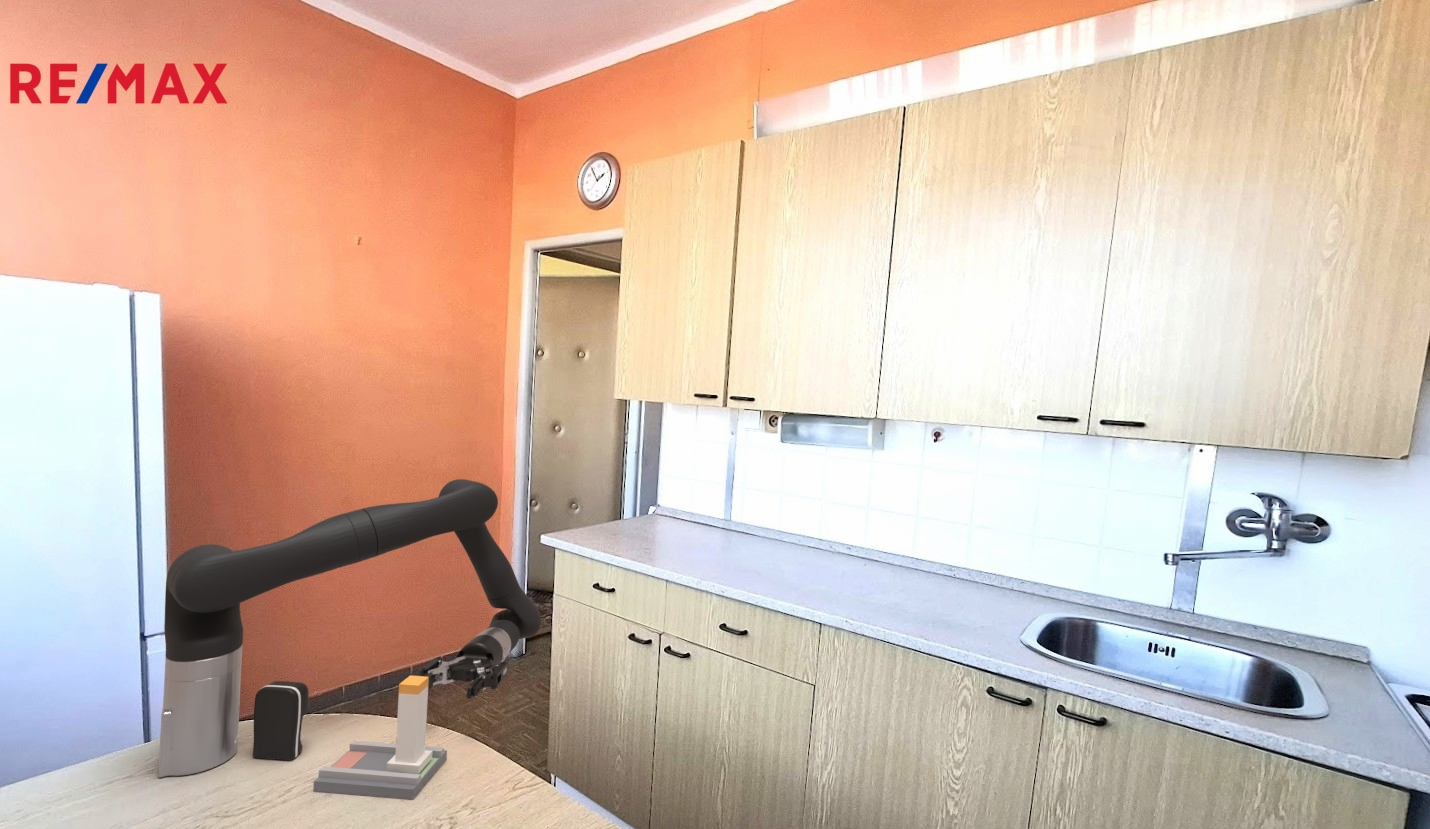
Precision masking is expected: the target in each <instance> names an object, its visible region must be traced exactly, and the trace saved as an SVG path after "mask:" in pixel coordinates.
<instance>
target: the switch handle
mask: <svg viewBox="0 0 1430 829" xmlns="http://www.w3.org/2000/svg"><path fill="white" fill-rule="evenodd" d="M428 682H429V677H424V676H420V675H409V676H408V677H406V678H405V679H404V680H403V681H401V682H400V683H399V685H398V700H397V701H398V703H397V718H396V719H397V720H396V738H395V740H396V741H395V744H396V754H395V756H393V757H392V758H391V759H390V760H389V761H388V762H387V768H386V771H391V772H404V773H416V774H419V773H420V772H421V770H422V769H423V768H424V767H425V766H426V765H427V764H428V762H429V761H430V760H431V759H432V753H433V751H429V750H425V746H426V738H427V737H426V736H427V735H426V734H427V719H428V718H427V715H428V702H429V701H428V699H429V698H428V697H429V696H428V694H429V690H428Z"/></svg>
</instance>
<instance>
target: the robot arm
mask: <svg viewBox="0 0 1430 829" xmlns="http://www.w3.org/2000/svg"><path fill="white" fill-rule="evenodd" d="M438 494H439V495H438V497H434V498H431V499H430V498H429V499H426V500H420V501H415V502H414V501H413V502H411V501H410V502H399V503H398V502H397V503H388V504H380V505H373V506H368V507H363V508H360V509H359V508H358V509H355V510H353V511H352V510H351V511H348V512H345V513H340V514H338V515H335V516H331V517H328V518H325V519H324V520H321V521H319V522H317V523H315V524H313V525H311V526H308V527H307V528H305V529H304V530H302V531H299V532H297V533H295V534H294V535H292V536H288V537H286V538H285V539H281V540H278V541H275V542H270V543H267V544H263V545H258V546H254V547H250V548H249V547H248V548H244V549H239V550H232V549H231V548H229V547H226V546H224V545H221V544H220V545H219V544H213V543H212V544H202V545H198V546H194V547H191V548H189V549H187V550H186V551H183V552H182V553H181V554H180V555H179V556H177V557H176V558H175V559H174V561H173V562H172V563H171V565H170V567H169V569H168V572H167V574H166V578H165V592H164V593H165V595H164V596H165V597H164V598H165V600H164V624H163V625H164V626H163V627H164V628H163V629H164V640H165V642H164V643H165V658H164V659H165V661H164V662H165V663H164V680H163V681H164V683H163V699H162V703H163V704H162V710H161V716H160V719H161V720H160V735H159V736H160V737H159V738H160V739H159V752H158V753H159V754H158V755H159V758H158V773H157V774H158V776H157V777H158V778H163V777H168V776H172V777H174V776H176V777H177V776H178V777H179V776H186V775H187V776H188V775H194V774H197V773H201V772H204V771H208V770H210V769H213V768H215V767H218V766H220V765H221V764H224V763H226V762H227V761H228V760H230V759H231V758H232V757H234V755H235V754H236V753H237V752H238V744H239V743H238V741H239V718H240V702H241V699H240V698H241V682H242V680H241V679H242V663H243V662H242V660H243V642H244V626H243V622H242V618H241V617H242V615H241V604H242V603H243V602H245V601H248V600H250V599H253V598H255V597H257V596H261V595H262V594H265V593H268V592H269V591H270V592H271V591H272V590H274V589H277V588H279V587H283V586H285V585H287V584H290V583H293V582H295V581H299V580H304V579H306V578H310V577H315V576H317V575H321V574H324V573H327V572H330V571H334V570H336V569H339V568H344V567H346V566H350V565H354V564H358V563H360V562H364V561H366V560H370V559H372V558H376V557H379V556H381V555H384V554H386V553H390V552H393V551H395V550H398V549H401V548H404V547H408V546H410V545H413V544H415V543H418V542H421V541H424V540H426V539H429V538H432V537H436V536H440V535H443V534H448V533H453V532H454V534H455V536H456V537H457V539H458V540H459V542H460V544H461V545H462V547H463V549H464V551H465V553H466V554H467V557H468V558H469V560H470V562H471V564H472V566H473V568H474V571H475V574H476V575H477V577H478V579H479V583H480V584H481V587H482V589H483V591H484V595H485V596H486V599H487V601H488V603H489V605H490V606H492V608H494V609H498V610H499V609H502V610H500V611H498V612H496V613H495V614H494V615H493V616H492V619H491V621H490V623H489V626H488V627H487V628H486V629H484V630H483V631H481V632H479V633H478V634H477V635H476V636H475V637H473V638H472V639H471V640H470V641H469V642H468V643H466V644H465V645H464V646H463V647H462V648H461V649H460V650H459V652H458V654H457V655H456V657H455V658H452V659H450V660H449V661H443V657H442V656H437V657H434V658H433V659H432V660H430V661H429V662H428V663H426V664H425V665H424V666H423V667H421V668H420V669H419V676H424V677H429V682H428V691H429V690H430V689H432V688H433V687H434V686H436V685H438V684H439V685H440V684H442V685H447V684H451V683H453V682H460V681H462V682H467V683H469V682H470V683H469V685H468V686H467V688H466V699H467V700H468V699H469V700H471V699H473V698H475V697H476V696H478V695H479V694H480V693H481V692H482V691H484V690H486V689H487V688H490V689H491V690H496V689H498V687H499V686H500V685H501V684H502V682H503V681H504V680H505V678H506V676H507V669H508V666H507V665H508V663H507V662H508V661H505V660H506V658H507V656H508V655H509V654H510V653H511V652H512V651H513V650H514V649H515V647H516V646H517V645H518V642H519V640H522V639H527V638H530V637H533V636H535V635H537V634H538V632H539V631H540V629H541V627H542V617H541V613H540V610H539V609H538V607H537V606H536V604H535V603H534V602H533V600H531V598H530V597H529V596H528V595H527V594H526V592H525V591H524V590H523V588H521V586H520V584H519V581H518V578H517V576H516V574H515V572H514V569H513V567H512V565H511V563H510V561H509V560H508V558H507V556H506V555H505V553H504V551H503V550H502V548H500V546H499V545H498V544H497V542H496V541H495V539H494V538H493V536H492V535H491V532H490V531H489V529H488V527H487V524H486V522H488V521H489V520H490V519H491V518H492V517H493V516H494V515H495V513H496V511H497V509H498V505H499V498H498V496H497V494H496V492H495V491H494V489H492V488H491V487H490V486H488V485H486V484H484V483H482V482H479V481H475V480H474V481H473V480H471V479H470V480H469V479H462V478H457V479H453V480H451V481H449V482H447V483H446V484H445V485H444V486H442V488H441V490H440V492H439V493H438ZM447 674H448V675H449V677H447ZM437 675H439V676H438V678H436V676H437Z"/></svg>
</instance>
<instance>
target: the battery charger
mask: <svg viewBox="0 0 1430 829" xmlns="http://www.w3.org/2000/svg"><path fill="white" fill-rule="evenodd" d="M309 692H310V691H309V687H308V685H306V684H305V683H304V682H298V681H289V680H277V681H272V682H270V683H268V684H266V685H264V686H262V687H261V688H260V689H259V690H257V692H256V694H255V698H254V706H253V743H252V744H253V746H252V748H253V749H252V757H253V758H258V759H266V760H269V759H270V760H285V761H286V760H293V759H296V758H297V757H298V755H299V754H301V752H302V751H303V744H302V741H301V737H302V736H301V733H302V724H303V718H304V716H306V715H307V714H308V712H309V703H310V702H309V701H310V700H309V698H310V697H309V695H310V694H309Z"/></svg>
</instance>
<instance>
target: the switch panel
mask: <svg viewBox="0 0 1430 829" xmlns="http://www.w3.org/2000/svg"><path fill="white" fill-rule="evenodd" d="M425 750H429V751H433V753H432V759H431V760H430V761H429V762H428V764H427V765H426V766H425V767H424V768H423V769H422V770H421V772H420V773H419V774H416V773H404V772H391V771H386V768H387V762H388V761H389V760H390V759H391V758H392V757H393V756H395V754H396V743H389V742H388V743H387V742H375V741H365V740H364V741H363V740H352V741H351V743H349V750H347V751H346V753H345V754H343V755H342V756H341V757H340V758H339V759H338V760H336V762H334V763H332V764H331V766H322V767H321V768H319V770H318V777H317V778H315V779H314V780H313V789H312V791H313V792H319V793H329V792H330V793H332V794H340V793H342V794H341V795H353V796H354V795H355V796H364V797H365V796H366V797H379V798H388V799H389V798H391V799H400V800H414V799H415V798H416V796H418V794H419V793H420V791H422V790H423V788H424V787H426V785H427V783H428V782H429V781H430V780H431V779H432V778H433V776H434V775H435V774H436V773H437V771H438V770H439V769H440V768H441V767H442V766H443V765H444V763H445V762H446V761H447V758H448V757H447V756H448V754H447V753H448V750H445V747H440V746H438V747H436V746H427V745H425Z"/></svg>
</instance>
